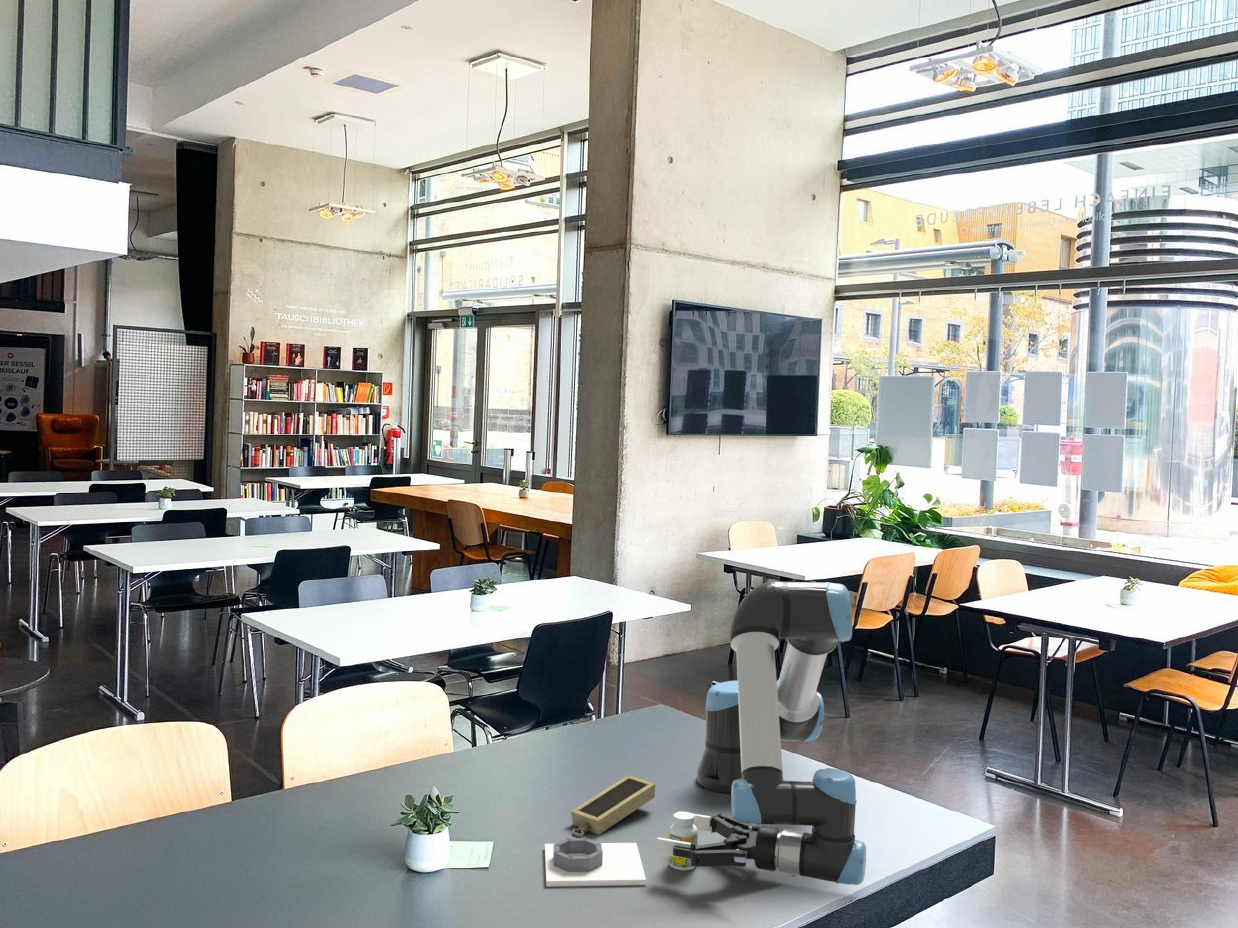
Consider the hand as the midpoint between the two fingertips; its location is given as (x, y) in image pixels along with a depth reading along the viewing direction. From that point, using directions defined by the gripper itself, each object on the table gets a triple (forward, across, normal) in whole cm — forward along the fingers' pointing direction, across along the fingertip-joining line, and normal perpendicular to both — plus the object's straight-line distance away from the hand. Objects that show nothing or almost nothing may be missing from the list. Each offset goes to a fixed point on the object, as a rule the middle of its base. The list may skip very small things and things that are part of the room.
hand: (667, 831), depth 188 cm
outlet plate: (+12, -7, -6) cm, 15 cm away
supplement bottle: (-3, 0, -6) cm, 7 cm away
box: (+17, +15, -6) cm, 24 cm away
